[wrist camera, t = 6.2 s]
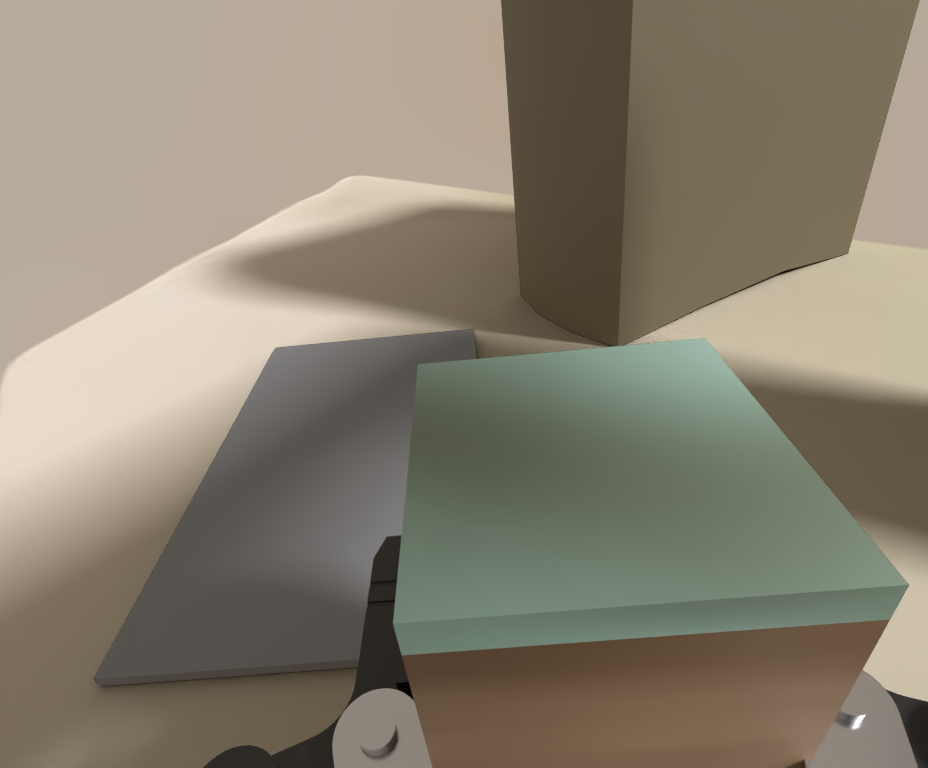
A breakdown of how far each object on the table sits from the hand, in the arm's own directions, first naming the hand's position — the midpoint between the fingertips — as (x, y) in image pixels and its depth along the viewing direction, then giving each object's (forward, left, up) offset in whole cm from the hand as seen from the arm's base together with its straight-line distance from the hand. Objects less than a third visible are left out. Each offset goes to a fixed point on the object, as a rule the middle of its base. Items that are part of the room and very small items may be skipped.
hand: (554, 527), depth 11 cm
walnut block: (+2, +1, -7) cm, 7 cm away
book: (-29, -4, -7) cm, 30 cm away
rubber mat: (-5, -12, -7) cm, 15 cm away
